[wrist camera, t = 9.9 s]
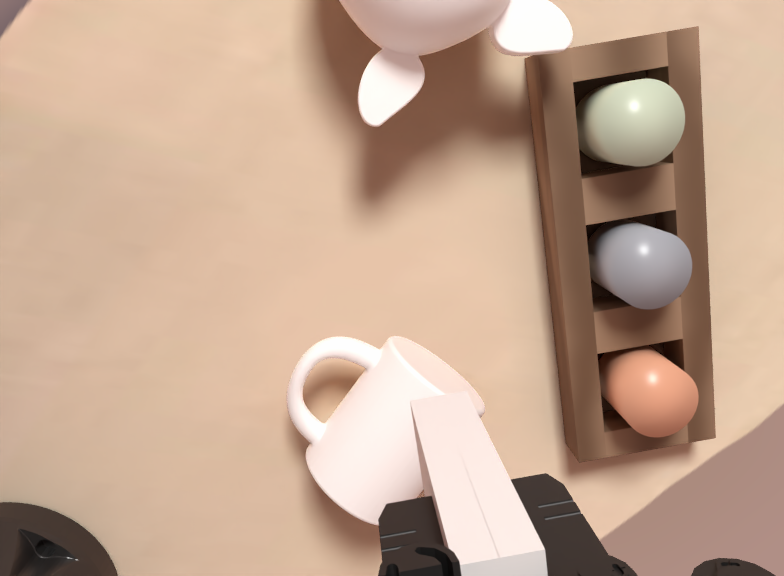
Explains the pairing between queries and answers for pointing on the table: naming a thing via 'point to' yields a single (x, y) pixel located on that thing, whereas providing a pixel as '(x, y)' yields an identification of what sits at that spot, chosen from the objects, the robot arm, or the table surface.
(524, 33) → the piggy bank
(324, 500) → the table surface
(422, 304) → the table surface
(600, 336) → the brown wooden slot rack
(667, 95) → the sage button
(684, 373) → the peach rounded piece
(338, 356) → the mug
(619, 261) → the slate button
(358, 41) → the table surface
